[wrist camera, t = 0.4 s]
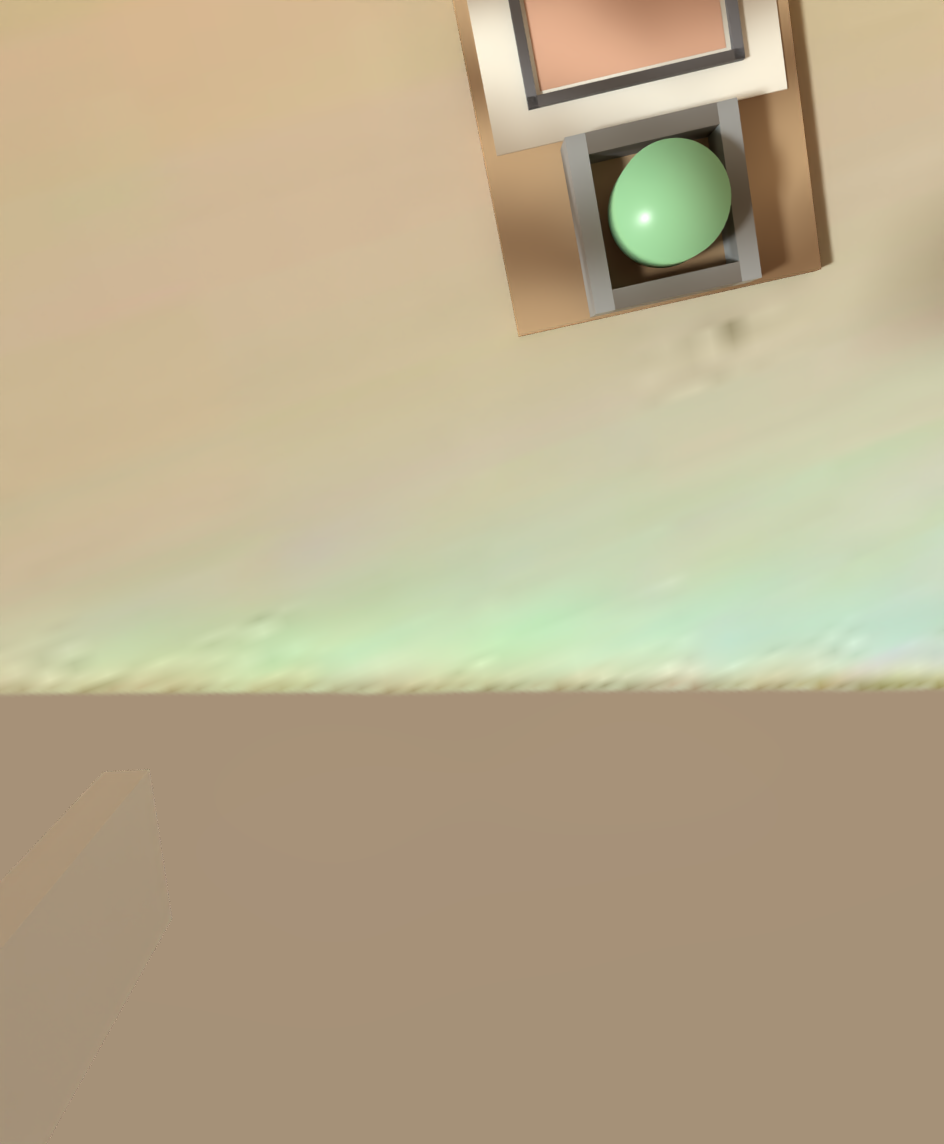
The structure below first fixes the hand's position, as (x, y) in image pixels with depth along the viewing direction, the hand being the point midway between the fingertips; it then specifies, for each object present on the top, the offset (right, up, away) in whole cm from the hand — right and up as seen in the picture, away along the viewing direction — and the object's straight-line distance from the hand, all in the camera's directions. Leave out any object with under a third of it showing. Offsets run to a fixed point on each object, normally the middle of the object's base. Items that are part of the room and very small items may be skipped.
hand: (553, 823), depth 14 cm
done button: (+6, +19, +21) cm, 29 cm away
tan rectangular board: (+5, +24, +22) cm, 33 cm away
